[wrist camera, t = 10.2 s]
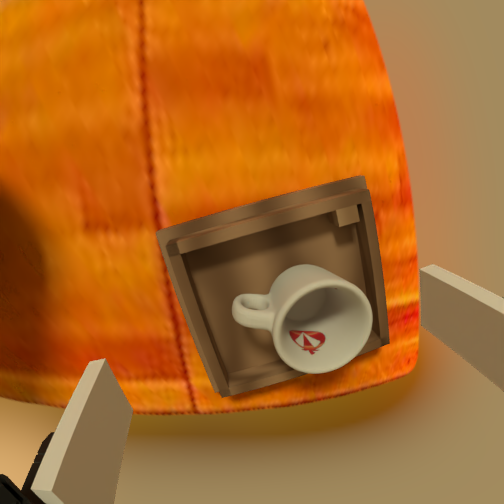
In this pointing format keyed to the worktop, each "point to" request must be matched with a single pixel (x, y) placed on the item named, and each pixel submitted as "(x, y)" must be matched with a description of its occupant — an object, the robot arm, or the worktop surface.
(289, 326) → the cup
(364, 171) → the worktop surface
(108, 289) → the worktop surface
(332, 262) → the square wooden tray
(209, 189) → the worktop surface
